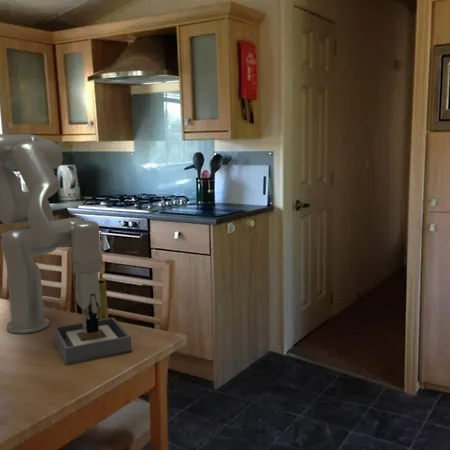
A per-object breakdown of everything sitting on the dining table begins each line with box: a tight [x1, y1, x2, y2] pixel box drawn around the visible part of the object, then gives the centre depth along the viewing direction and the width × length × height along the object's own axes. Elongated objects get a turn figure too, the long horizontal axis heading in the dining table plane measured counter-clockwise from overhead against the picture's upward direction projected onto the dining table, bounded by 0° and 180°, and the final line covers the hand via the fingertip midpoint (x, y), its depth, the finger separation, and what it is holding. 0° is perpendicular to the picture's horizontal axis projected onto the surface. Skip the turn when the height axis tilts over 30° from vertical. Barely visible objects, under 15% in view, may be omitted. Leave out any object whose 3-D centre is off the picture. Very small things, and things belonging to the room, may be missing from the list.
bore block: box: [66, 325, 118, 347], centre depth 153 cm, size 12×12×3 cm
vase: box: [97, 279, 109, 320], centre depth 169 cm, size 6×6×14 cm
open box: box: [53, 317, 132, 366], centre depth 153 cm, size 18×18×4 cm
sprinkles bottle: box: [81, 302, 99, 341], centre depth 152 cm, size 5×5×13 cm
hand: (90, 328), depth 152 cm, fingers closed on sprinkles bottle, 4 cm apart
